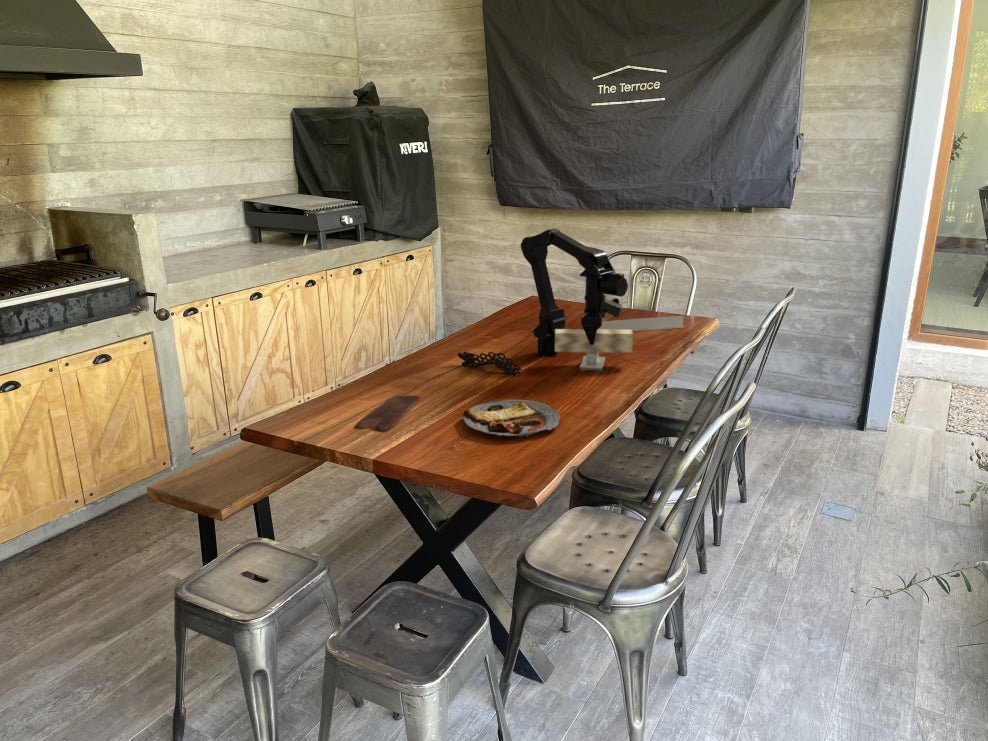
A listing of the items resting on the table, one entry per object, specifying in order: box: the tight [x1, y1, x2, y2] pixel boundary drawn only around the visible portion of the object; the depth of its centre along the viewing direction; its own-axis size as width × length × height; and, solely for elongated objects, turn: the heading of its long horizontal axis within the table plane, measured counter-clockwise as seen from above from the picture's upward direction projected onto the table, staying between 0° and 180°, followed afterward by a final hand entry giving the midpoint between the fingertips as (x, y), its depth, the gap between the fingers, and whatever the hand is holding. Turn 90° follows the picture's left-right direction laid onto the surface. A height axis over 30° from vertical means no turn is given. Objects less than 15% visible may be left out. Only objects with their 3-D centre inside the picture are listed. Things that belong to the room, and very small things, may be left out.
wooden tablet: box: [354, 395, 421, 433], centre depth 202 cm, size 26×2×10 cm
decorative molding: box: [599, 315, 684, 332], centre depth 280 cm, size 34×5×10 cm
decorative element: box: [457, 351, 522, 376], centre depth 235 cm, size 22×5×6 cm, turn 57°
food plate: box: [461, 398, 561, 438], centre depth 193 cm, size 25×23×4 cm
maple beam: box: [555, 328, 634, 353], centre depth 236 cm, size 24×5×6 cm, turn 85°
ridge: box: [579, 352, 606, 372], centre depth 237 cm, size 7×12×5 cm, turn 167°
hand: (593, 340), depth 236 cm, fingers open, 9 cm apart
